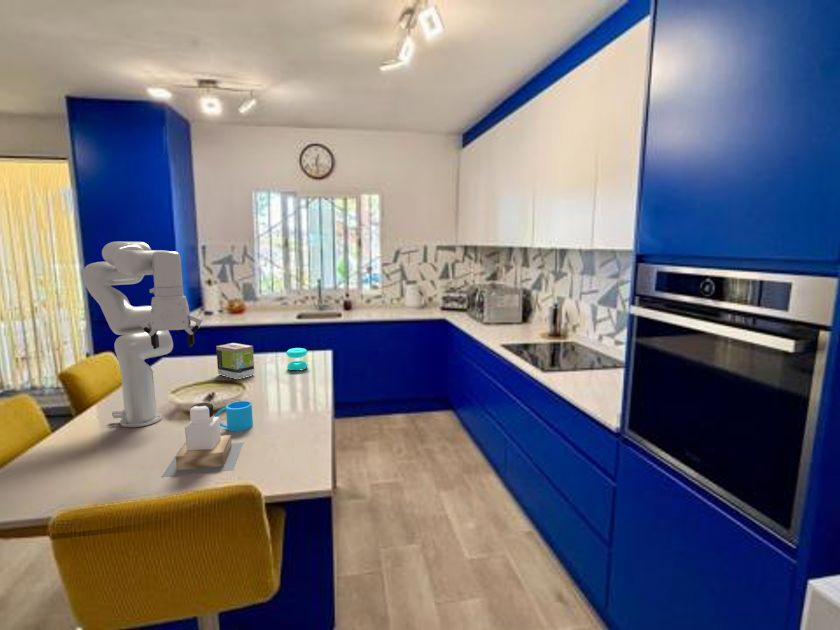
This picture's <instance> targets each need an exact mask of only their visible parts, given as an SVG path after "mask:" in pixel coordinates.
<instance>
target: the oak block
mask: <svg viewBox="0 0 840 630" xmlns="http://www.w3.org/2000/svg"><path fill="white" fill-rule="evenodd" d="M231 443H232V435H231V434H225V435H221V440H220V441H219V442H218V443H217V445H216V446H215V447H214V449H212V450H190V451H188V450H187V446H186V441H185V442H184V444H182V446H181V447H180V448H181V449H180V448H179V450H180V451H179V450H178V451H179V452H178V451H177V453H178V454H177V453H176V454H177V455H176V454H175V456H176V466H177V470H187V469H197V468H207V467H217V466H224V464H225V462H226V460H227V457H228V455H229V452H230V450H231V448H232V445H231Z"/></svg>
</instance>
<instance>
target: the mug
mask: <svg viewBox="0 0 840 630" xmlns="http://www.w3.org/2000/svg"><path fill="white" fill-rule="evenodd" d="M224 411H225V414H226V415H225V416H226V424H224V423H222V422H221V421H220V427H221V428H226V430H228V431H231V432H242V431H245V430H249V429H251V428H254V420H253V419H254V418H253V405H252V402H251V401H247V400H237V401H234V402H230V403H228V404H226V406H225V407H223V408H221V409H219V410H218V411H216V413H215V414H214V417H219V415H220V414H221V413H222V412H224Z"/></svg>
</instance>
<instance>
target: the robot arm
mask: <svg viewBox="0 0 840 630" xmlns="http://www.w3.org/2000/svg"><path fill="white" fill-rule="evenodd" d="M101 256H102V258H103V260H104V261H96V262H92V263H89V264H87V265H86V266H85V267H84V269H83V271H82V272H83V273H82V277H83V281H84V285H85V287H86V289H87V291H88V292H89V294H90V296H91V297H92V298H93V299H94V300H95V301H96V303H98V305H99V306H100V309H101V311H102V313H103V315H104V317H105V320H106V322H107V323H108V326H109V328H110V330H111V331H112V332H113V333H114V334H115V335H118V336H119V337H117V338H116V339H115V342H114V352H115V355H116V357H117V362H118V364H119V365H118V366H119V371H120V372H119V373H120V378H121V388H122V398H123V409H122V410H113V411H112V412H111V417H112V418H113V419H120V422H119V424H120V426H121V427H124V428H140V427H146V426H149V425H154V424H155V423H157V422H160V420H162V419H163V414H162V413H161V412H159V411H157V401H156V399H157V398H156V390H155V381H154V380H155V376H154V370H153V369H152V367H151V366H150V365H149V364H148V363H146V361H145V360H146V359H150V358H156V357H161V356H164V355H168V354H169V353H171V352H172V351H173V348H174V342H173V338H172V335H171V333H170V331H179V330H181V331H182V330H184V331H185V332H186V333H187V335H186V339H187V341H186V343H187V348H192V347H193V346H194V345H195V333H196V332H197V330H199V329H200V327H201V325H202V323H203V319H202V318H199V317H198V316H195V315H193V314H191V313H190V309H189V307H190V306H189V302H188V300H187V296H186V295H184V286H183V273H182V260H181V255H180V252H178V251H173V250H171V251H169V250H161V249H160V250H159V249H158V250H157V249H155V250H154V249H153V250H152V248H151V247H150V246H149V244H147V243H146V242H144V241H119V240H118V241H111V242H109V243H107V244H105V245H104V246H103V248H102V250H101ZM145 276H153V283H154V284H153V285H154V286H153V288H149V294H153V295H154V296H153V297H152V298H151V302H150V305H139V306H135V305H134V306H133V305H131V303H130V301H129V299H128V297H127V296H126V294H124V293H123V292H121V291H120V290H118V289H116V288H115V287H114V286H119V285H121V286H122V285H135V284H138V283H140V282H141V281H142V280H143V279H144V277H145ZM191 321H192V322H195V324H194V326H193V327H192V326H191V323H192V322H191Z"/></svg>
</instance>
